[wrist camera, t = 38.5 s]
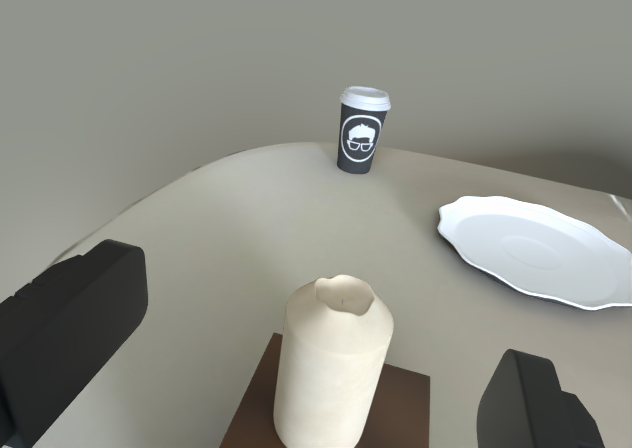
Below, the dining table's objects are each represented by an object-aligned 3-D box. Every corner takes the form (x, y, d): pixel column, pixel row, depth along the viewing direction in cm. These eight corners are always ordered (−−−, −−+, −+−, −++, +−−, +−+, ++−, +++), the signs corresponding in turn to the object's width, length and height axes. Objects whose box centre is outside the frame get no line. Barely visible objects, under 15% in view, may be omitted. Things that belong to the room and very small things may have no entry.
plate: (508, 332, 50) (516, 316, 49) (403, 207, 74) (407, 195, 73) (691, 312, 58) (701, 299, 57) (543, 206, 82) (548, 195, 81)
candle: (333, 484, 23) (369, 351, 18) (253, 426, 25) (265, 294, 20) (377, 412, 27) (417, 288, 22) (305, 367, 30) (326, 246, 24)
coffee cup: (386, 170, 87) (403, 96, 80) (357, 181, 81) (372, 101, 73) (349, 154, 93) (362, 83, 85) (319, 163, 86) (330, 87, 79)
